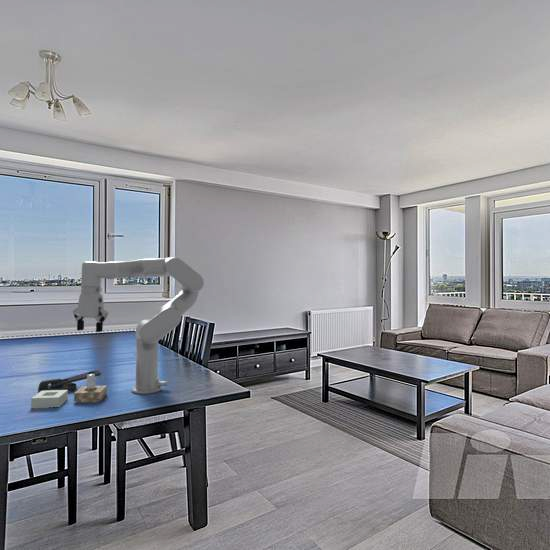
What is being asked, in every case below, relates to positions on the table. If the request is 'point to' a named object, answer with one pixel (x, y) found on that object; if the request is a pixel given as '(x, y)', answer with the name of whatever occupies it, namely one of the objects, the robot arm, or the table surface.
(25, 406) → the table surface
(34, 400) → the sage socket block
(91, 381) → the metal pin
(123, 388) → the table surface
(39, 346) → the table surface
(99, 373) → the zipper pull
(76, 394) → the birch mount block
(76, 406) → the table surface
